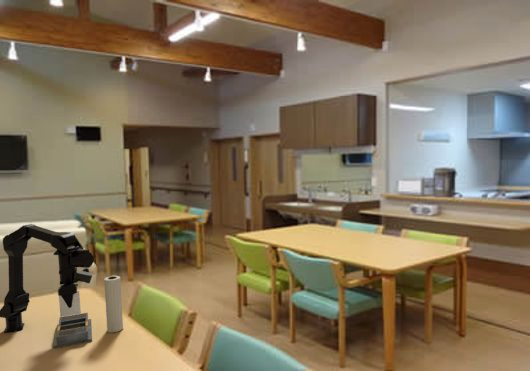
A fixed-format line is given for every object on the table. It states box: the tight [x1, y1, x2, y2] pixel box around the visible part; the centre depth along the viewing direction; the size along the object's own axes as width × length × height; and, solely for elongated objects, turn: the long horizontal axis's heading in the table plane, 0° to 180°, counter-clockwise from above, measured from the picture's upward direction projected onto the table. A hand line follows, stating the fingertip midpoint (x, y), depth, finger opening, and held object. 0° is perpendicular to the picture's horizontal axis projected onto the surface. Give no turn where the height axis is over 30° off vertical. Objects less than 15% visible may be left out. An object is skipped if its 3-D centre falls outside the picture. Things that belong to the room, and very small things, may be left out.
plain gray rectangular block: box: [58, 290, 82, 318], centre depth 157 cm, size 3×7×8 cm, turn 113°
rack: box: [52, 312, 93, 349], centre depth 160 cm, size 21×13×4 cm, turn 24°
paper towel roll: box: [103, 274, 124, 333], centre depth 163 cm, size 7×6×21 cm
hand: (70, 306), depth 157 cm, fingers closed on plain gray rectangular block, 3 cm apart
